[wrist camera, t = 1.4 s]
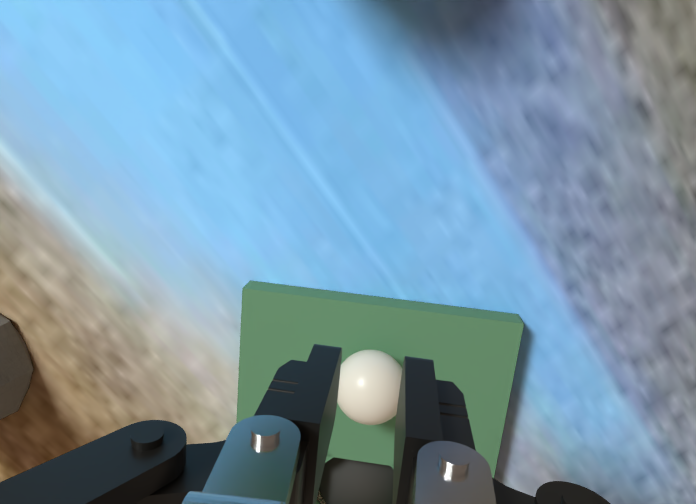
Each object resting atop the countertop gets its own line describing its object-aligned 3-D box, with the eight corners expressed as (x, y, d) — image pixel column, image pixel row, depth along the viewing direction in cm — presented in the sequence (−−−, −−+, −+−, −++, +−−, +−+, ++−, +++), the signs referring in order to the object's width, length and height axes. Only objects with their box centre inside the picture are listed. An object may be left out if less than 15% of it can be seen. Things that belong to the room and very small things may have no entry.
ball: (411, 342, 29) (412, 376, 25) (402, 404, 30) (402, 445, 26) (341, 333, 30) (332, 365, 26) (335, 395, 31) (326, 434, 27)
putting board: (518, 314, 30) (523, 324, 28) (470, 564, 34) (473, 584, 33) (250, 280, 31) (242, 288, 30) (238, 526, 35) (231, 543, 34)
